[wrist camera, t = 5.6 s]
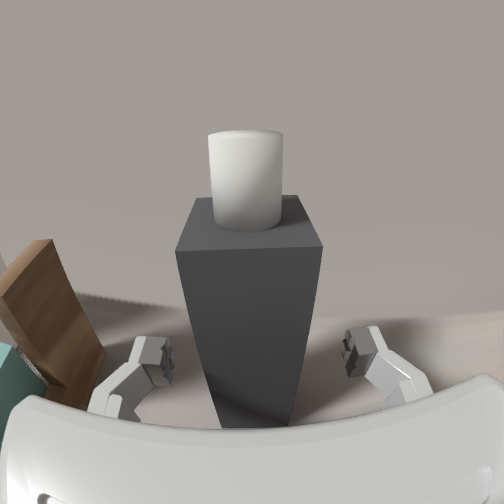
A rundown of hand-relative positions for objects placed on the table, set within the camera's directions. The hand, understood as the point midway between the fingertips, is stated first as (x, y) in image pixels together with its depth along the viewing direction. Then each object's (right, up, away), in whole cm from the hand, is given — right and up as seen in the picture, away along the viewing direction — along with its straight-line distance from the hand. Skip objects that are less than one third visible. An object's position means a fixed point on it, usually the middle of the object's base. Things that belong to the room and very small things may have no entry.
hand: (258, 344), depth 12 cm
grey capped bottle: (0, -6, +6) cm, 9 cm away
